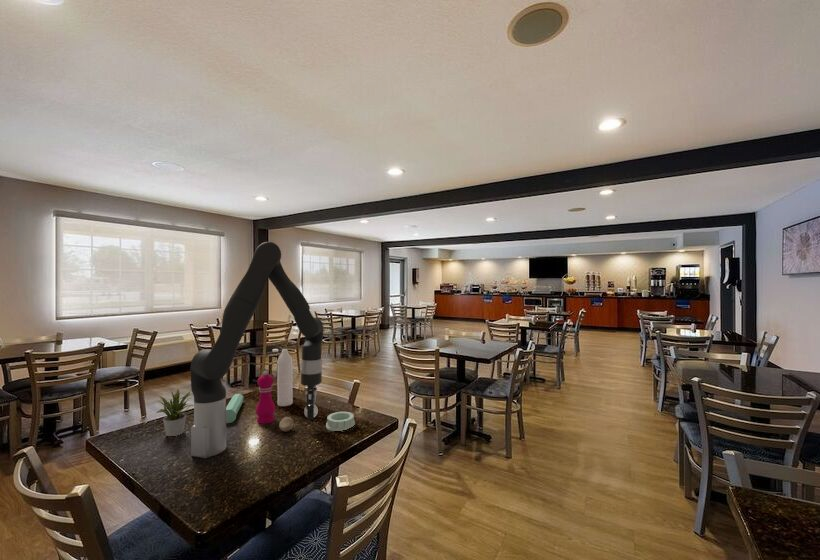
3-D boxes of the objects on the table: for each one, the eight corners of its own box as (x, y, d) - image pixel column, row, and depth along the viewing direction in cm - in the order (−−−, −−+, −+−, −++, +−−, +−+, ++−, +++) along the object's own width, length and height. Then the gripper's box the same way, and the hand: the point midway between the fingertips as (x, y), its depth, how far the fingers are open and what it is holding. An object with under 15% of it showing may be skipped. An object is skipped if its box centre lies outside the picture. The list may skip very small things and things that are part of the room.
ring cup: (346, 433, 129) (346, 423, 129) (320, 429, 132) (320, 420, 132) (359, 421, 140) (359, 413, 140) (335, 418, 143) (335, 409, 143)
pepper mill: (270, 424, 137) (270, 373, 137) (252, 424, 137) (252, 373, 137) (278, 417, 144) (277, 368, 144) (260, 417, 145) (260, 368, 145)
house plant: (206, 433, 130) (206, 389, 130) (162, 447, 119) (161, 399, 119) (191, 423, 139) (191, 382, 139) (149, 435, 128) (149, 390, 128)
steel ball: (312, 421, 129) (312, 407, 129) (301, 419, 131) (301, 405, 131) (320, 416, 134) (320, 403, 134) (309, 414, 136) (309, 401, 136)
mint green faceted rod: (234, 389, 162) (223, 407, 139) (247, 393, 164) (238, 411, 140) (229, 402, 162) (217, 422, 138) (242, 405, 163) (232, 426, 139)
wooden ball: (287, 434, 128) (287, 420, 128) (276, 432, 130) (276, 419, 130) (296, 429, 133) (296, 415, 133) (285, 427, 135) (285, 414, 135)
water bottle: (294, 401, 164) (293, 347, 164) (290, 406, 157) (290, 350, 157) (274, 402, 163) (274, 348, 163) (270, 407, 156) (270, 350, 156)
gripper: (320, 375, 127) (320, 422, 126) (322, 366, 141) (322, 409, 140) (299, 376, 125) (298, 424, 125) (303, 367, 139) (302, 410, 139)
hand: (311, 416), depth 133 cm, fingers closed on steel ball, 5 cm apart
